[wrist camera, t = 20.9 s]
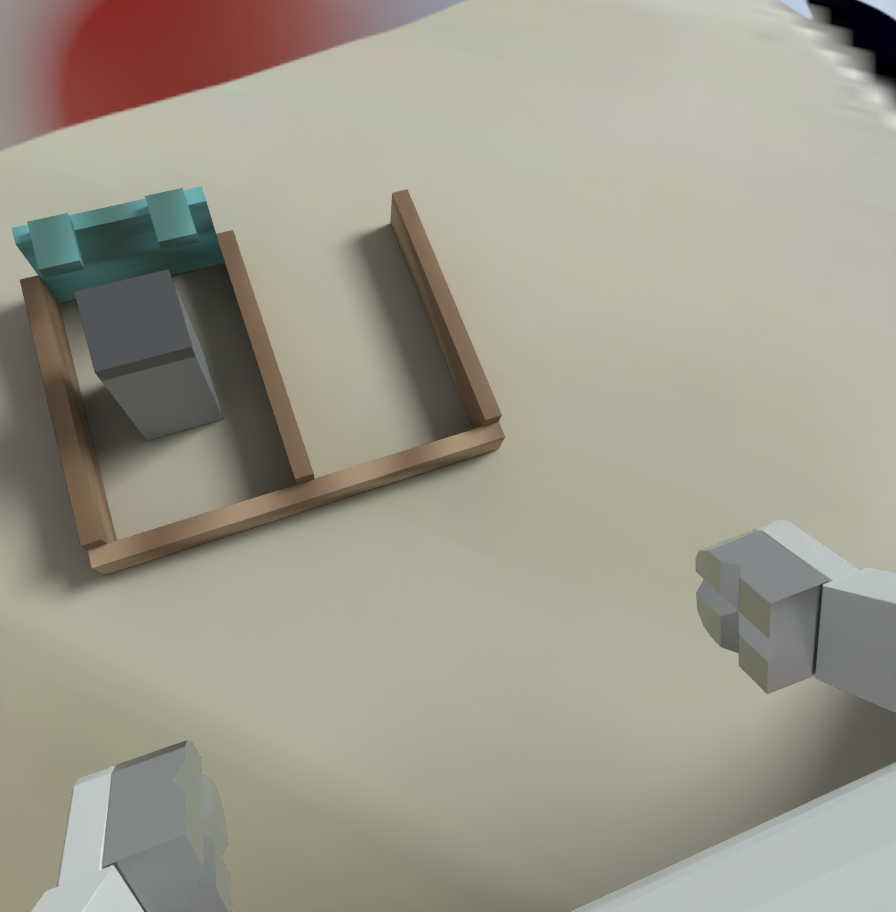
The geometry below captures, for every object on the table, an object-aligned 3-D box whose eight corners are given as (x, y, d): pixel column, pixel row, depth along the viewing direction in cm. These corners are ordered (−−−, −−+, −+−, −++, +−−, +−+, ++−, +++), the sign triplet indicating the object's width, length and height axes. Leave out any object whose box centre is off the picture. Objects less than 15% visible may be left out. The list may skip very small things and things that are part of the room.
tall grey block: (204, 354, 45) (168, 269, 36) (223, 418, 43) (191, 346, 35) (129, 374, 44) (74, 291, 35) (147, 440, 42) (94, 371, 34)
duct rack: (399, 207, 50) (405, 132, 43) (498, 448, 45) (521, 403, 38) (38, 293, 45) (-16, 223, 38) (104, 575, 40) (55, 548, 33)
